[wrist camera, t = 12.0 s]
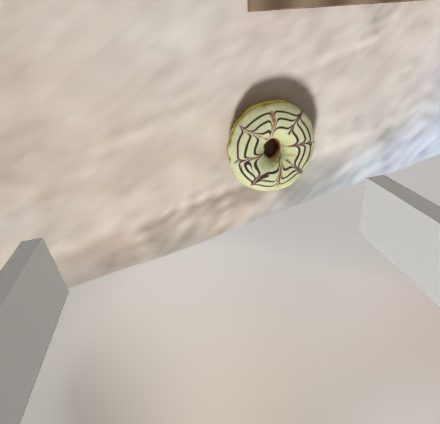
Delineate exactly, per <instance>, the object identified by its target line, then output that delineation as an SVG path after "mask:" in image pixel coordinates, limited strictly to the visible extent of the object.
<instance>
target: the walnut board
mask: <svg viewBox="0 0 440 424" xmlns="http://www.w3.org/2000/svg"><path fill="white" fill-rule="evenodd" d="M405 1H420V0H248V12H252V11H268V10H283V9H298V8H313V7H329V6H344V5H359V4H374V3H390V2H405Z"/></svg>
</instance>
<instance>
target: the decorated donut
mask: <svg viewBox="0 0 440 424" xmlns="http://www.w3.org/2000/svg"><path fill="white" fill-rule="evenodd" d="M272 138H274V140H276V142H277V148H276V151H275V152H274V154H272V155H270V156H266V155H265V154H264V144H265V143H266V142H267V141H269V140H270V139H272ZM314 143H315V142H314V129H313V126H312V123H311V121H310V119H309V117H308V116H307V115H306V114H305V113H304V112H302V110H301V109H299V108H298V107H296V106H295V105H293V104H291V103H289V102H287V101H284V100H272V101H264V102H262V103H259V104H255V105H253V106H251V107H250V108H248V109H247V110H246V111H245V112H244V113H243V114H242V115H241V117H240V118H239V119H237V120H236V122H235V124H234V126H233V128H232V130H231V134H230V137H229V141H228V144H227V154H228V156H229V161H230V162H229V165H230V166H231V168H232V169H233V171H234V174H235V177H236V178H237V179H238V181H239V182H241V183H242V184H244V185H246V186H248V187H251V188H253V189H256V190H263V191H272V190H278V189H282V188H285V187H288V186H289V185H291V184H292V183H293V182H294V181H295V180H296V179H297V178H298V177H299V176H300V175H301V174H302V172H303V171H304V170H305V169H306V167H307V166H308V164H309V162H310V159H311V157H312V153H313V150H314Z"/></svg>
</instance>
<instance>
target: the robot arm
mask: <svg viewBox="0 0 440 424" xmlns="http://www.w3.org/2000/svg"><path fill="white" fill-rule="evenodd" d="M359 233H360V234H361V235H362V236H364V237H365V238H366V239H367V240H368V241H369V242H370V243H371V244H372V245H373V246H374V247H375V248H377V249H378V250H379V251H380V252H381V253H382V254H383V255H384V256H385V257H386V258H388V259H389V260H390V261H391V262H392V263H393V264H394V265H395V266H396V267H397V268H398V269H399V270H400V271H401V272H403V273H404V274H405V275H406V276H407V277H408V278H409V279H410V280H411V281H412V282H413V283H414V284H416V285H417V286H418V287H419V288H420V289H421V290H422V291H423V292H424V293H425V294H426V295H427V296H429V297H430V298H431V299H432V300H433V301H434V302H435V303H436V304H437V305H438V306H439V307H440V206H438V205H436V204H434V203H433V202H431V201H429V200H427V199H425V198H423V197H422V196H420V195H418V194H417V193H415V192H413V191H411V190H410V189H408V188H406V187H404V186H402V185H401V184H399V183H397V182H395V181H394V180H392V179H390V178H388V177H387V176H385V175H380V176H375V177H370V178H367V181H366V188H365V195H364V202H363V210H362V217H361V224H360V230H359ZM68 293H69V290H68V288H67V286H66V284H65V282H64V280H63V278H62V276H61V274H60V272H59V270H58V268H57V266H56V264H55V262H54V260H53V258H52V256H51V254H50V252H49V250H48V248H47V246H46V243H45V241H44V239H43V238H39V239H33V240H28V241H22V242H21V243H20V244H19V246H18V247H17V249H16V250H15V251H14V253H13V254H12V256H11V257H10V258H9V260H8V261H7V263H6V264H5V265H4V267H3V268H2V270H1V271H0V424H20V422H21V419H22V417H23V414H24V411H25V408H26V406H27V403H28V401H29V398H30V395H31V392H32V390H33V387H34V384H35V382H36V379H37V376H38V374H39V371H40V368H41V366H42V363H43V360H44V357H45V355H46V352H47V349H48V347H49V344H50V341H51V339H52V336H53V333H54V330H55V328H56V325H57V322H58V319H59V317H60V314H61V311H62V309H63V306H64V303H65V301H66V298H67V295H68Z"/></svg>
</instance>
